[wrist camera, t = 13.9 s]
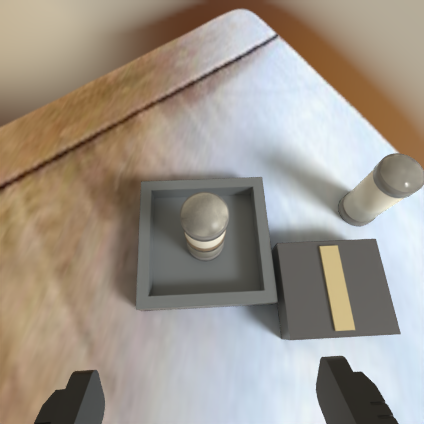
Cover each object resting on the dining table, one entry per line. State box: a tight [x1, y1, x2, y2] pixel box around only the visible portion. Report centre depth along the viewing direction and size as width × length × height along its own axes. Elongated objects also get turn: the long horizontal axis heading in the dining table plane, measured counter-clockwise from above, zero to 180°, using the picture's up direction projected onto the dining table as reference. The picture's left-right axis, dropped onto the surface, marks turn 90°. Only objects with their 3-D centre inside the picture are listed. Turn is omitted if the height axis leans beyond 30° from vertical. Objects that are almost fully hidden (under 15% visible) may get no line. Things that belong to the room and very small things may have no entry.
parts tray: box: [136, 177, 278, 311], centre depth 28 cm, size 12×12×2 cm
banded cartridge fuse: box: [180, 192, 229, 261], centre depth 25 cm, size 4×4×8 cm
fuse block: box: [271, 239, 401, 340], centre depth 27 cm, size 9×8×3 cm
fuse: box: [339, 153, 424, 226], centre depth 28 cm, size 4×4×8 cm
